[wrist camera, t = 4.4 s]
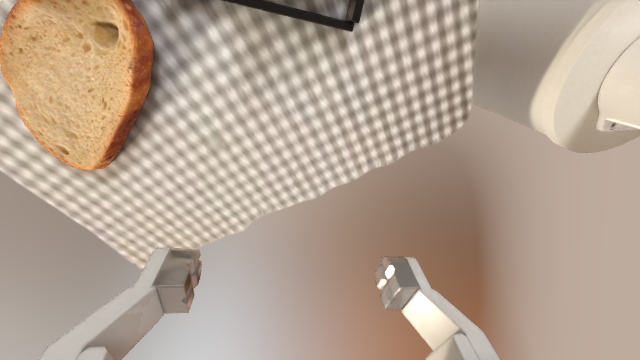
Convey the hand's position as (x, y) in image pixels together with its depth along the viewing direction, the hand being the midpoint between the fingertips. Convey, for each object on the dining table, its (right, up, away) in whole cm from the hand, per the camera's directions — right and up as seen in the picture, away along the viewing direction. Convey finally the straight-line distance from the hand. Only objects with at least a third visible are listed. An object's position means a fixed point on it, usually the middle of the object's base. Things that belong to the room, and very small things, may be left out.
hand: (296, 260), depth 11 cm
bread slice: (-24, +14, +16) cm, 33 cm away
